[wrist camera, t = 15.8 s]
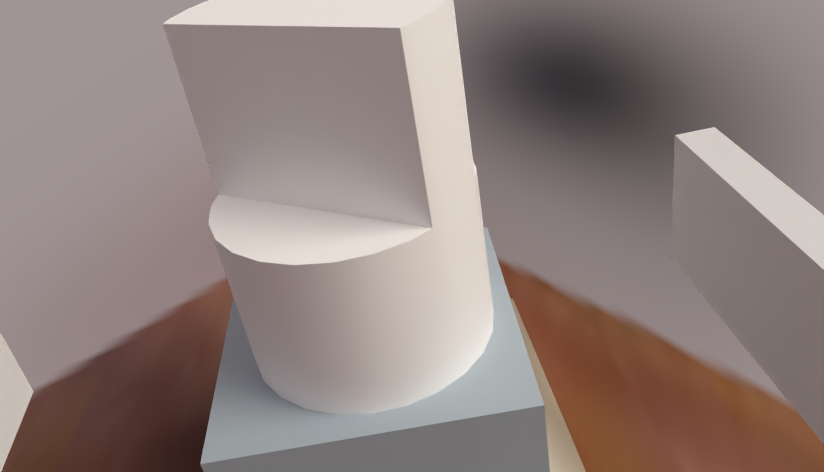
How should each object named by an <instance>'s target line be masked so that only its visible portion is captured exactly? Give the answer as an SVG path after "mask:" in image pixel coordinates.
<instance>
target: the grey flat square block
mask: <svg viewBox="0 0 824 472" xmlns="http://www.w3.org/2000/svg"><path fill="white" fill-rule="evenodd" d="M484 236H485V245H486V253H487V261H488V269H489V278H490V286H491V294H492V302H493V332H492V334H491V336H490V339H489V341H488V343H487V346H486V348H485V350H484V352H483V354H482V355H481V356H480V357H479V358H478V359H477V361H476V362H475V363H474V364H473V365H472V366H471V367H470V369H469V370H468V371H467V372H466V373H465V374H464V375H462V376H461V377H459V378H458V379H457V380H455V381H454V382H452V383H451V384H449V385H448V386H447V387H445V388H444V389H442V390H441V391H439V392H437V393H435V394H433V395H430V396H428V397H426V398H424V399H421V400H419V401H417V402H414V403H412V404H410V405H407V406H403V407H399V408H395V409H390V410H386V411H381V412H377V413H372V414H346V415H335V414H329V413H324V412H318V411H313V410H307V409H304V408H302V407H300V406H298V405H295V404H293V403H291V402H289V401H287V400H285V399H283V398H281V397H280V396H278V395H277V394H276V393H275V392H274V391H273V390H272V389H271V388H270V387H269V386H268V385H267V384H266V383H265V382H264V380H263V378H262V375H261V373H260V371H259V368H258V366H257V363H256V361H255V358H254V355H253V352H252V349H251V346H250V343H249V340H248V337H247V334H246V331H245V329H244V326H243V323H242V320H241V317H240V314H239V311H238V308H237V305H236V302H235V300H234V298H233V303H232V308H231V313H230V318H229V323H228V328H227V333H226V338H225V343H224V348H223V353H222V358H221V363H220V368H219V372H218V377H217V382H216V387H215V392H214V397H213V402H212V407H211V412H210V417H209V422H208V427H207V432H206V437H205V442H204V447H203V452H202V457H201V462H200V465H201V467H202V470H203V472H550V466H549V455H548V443H547V431H546V419H545V407H544V403H543V400H542V396H541V393H540V390H539V387H538V384H537V381H536V378H535V375H534V372H533V369H532V365H531V362H530V359H529V356H528V353H527V350H526V347H525V344H524V341H523V338H522V334H521V331H520V328H519V325H518V322H517V319H516V316H515V313H514V310H513V307H512V303H511V300H510V297H509V294H508V291H507V288H506V285H505V282H504V279H503V276H502V273H501V269H500V266H499V263H498V260H497V257H496V254H495V251H494V248H493V245H492V242H491V238H490V235H489V232H488V229H487V227H485V228H484Z"/></svg>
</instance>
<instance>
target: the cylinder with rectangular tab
mask: <svg viewBox="0 0 824 472" xmlns="http://www.w3.org/2000/svg"><path fill="white" fill-rule="evenodd" d="M163 26H164V29H165V32H166V35H167V39H168V42H169V45H170V48H171V51H172V54H173V56H174V60H175V63H176V66H177V69H178V72H179V75H180V78H181V81H182V84H183V87H184V90H185V94H186V97H187V100H188V103H189V106H190V108H191V112H192V115H193V118H194V121H195V124H196V127H197V130H198V133H199V136H200V139H201V142H202V145H203V148H204V151H205V154H206V158H207V161H208V164H209V167H210V170H211V173H212V176H213V179H214V182H215V185H216V188H217V191H218V194H219V195H218V196H217V198H216V200H215V201H214V202H213V204H212V206H211V209H210V216H209V227H210V230H211V233H212V235H213V238H214V241H215V244H216V247H217V250H218V253H219V256H220V259H221V262H222V264H223V268H224V270H225V273H226V276H227V279H228V282H229V285H230V288H231V291H232V294H233V297H234V300H235V302H236V305H237V308H238V311H239V314H240V317H241V320H242V323H243V326H244V329H245V331H246V334H247V337H248V340H249V343H250V346H251V349H252V352H253V355H254V358H255V361H256V363H257V366H258V368H259V371H260V373H261V375H262V378H263V380H264V382H265V383H266V384H267V385H268V386H269V387H270V388H271V389H272V390H273V391H274V392H275V393H276V394H277V395H278V396H280V397H281V398H283V399H285V400H287V401H289V402H291V403H293V404H295V405H298V406H300V407H302V408H304V409H307V410H313V411H318V412H324V413H329V414H335V415H346V414H372V413H377V412H381V411H386V410H390V409H395V408H399V407H403V406H407V405H410V404H412V403H414V402H417V401H419V400H421V399H424V398H426V397H428V396H430V395H433V394H435V393H437V392H439V391H441V390H442V389H444V388H445V387H447V386H448V385H449V384H451V383H452V382H454V381H455V380H457V379H458V378H459V377H461V376H462V375H464V374H465V373H466V372H467V371H468V370H469V369H470V367H471V366H472V365H473V364H474V363H475V362H476V361H477V359H478V358H479V357H480V356H481V355H482V354H483V352H484V350H485V348H486V346H487V343H488V341H489V339H490V336H491V334H492V332H493V302H492V294H491V286H490V278H489V269H488V261H487V253H486V245H485V236H484V228H483V221H482V212H481V203H480V196H479V187H478V179H477V171H476V166H475V164H474V162H473V157H472V149H471V141H470V133H469V125H468V117H467V109H466V101H465V92H464V84H463V76H462V68H461V60H460V52H459V44H458V35H457V27H456V19H455V11H454V3H453V0H208V1H206V2H203V3H201V4H198V5H196V6H194V7H191V8H189V9H187V10H185V11H183V12H182V13H180V14H178V15H176V16H174V17H172V18H171V19H169V20H167V21H166V22H165V23H163Z"/></svg>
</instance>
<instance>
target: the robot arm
mask: <svg viewBox="0 0 824 472" xmlns="http://www.w3.org/2000/svg"><path fill="white" fill-rule="evenodd" d="M674 153H675V154H674V180H673V208H672V209H673V210H672V237H671V257H672V259H673V260H674V261H675V262H676V263H677V265H678V266H679V267H680V268H681V269H682V271H683V272H684V273H685V275H686V276H687V277H688V278H689V279H690V280H691V282H692V283H693V284H694V286H695V287H696V288H697V289H698V290H699V292H700V293H701V294H702V295H703V296H704V298H705V299H706V300H707V301H708V303H709V304H710V305H711V306H712V308H713V309H714V310H715V311H716V313H717V314H718V315H719V316H720V317H721V319H722V320H723V321H724V322H725V324H726V325H727V326H728V327H729V328H730V330H731V331H732V332H733V333H734V335H735V336H736V337H737V338H738V340H739V341H740V342H741V343H742V344H743V346H744V347H745V348H746V349H747V351H748V352H749V353H750V354H751V355H752V357H753V358H754V359H755V360H756V362H757V363H758V364H759V365H760V367H761V368H762V369H763V370H764V371H765V373H766V374H767V375H768V376H769V378H770V379H771V380H772V381H773V382H774V384H775V385H776V386H777V387H778V389H779V390H780V391H781V392H782V393H783V395H784V396H785V397H786V398H787V400H788V401H789V402H790V403H791V405H792V406H793V407H794V408H795V409H796V411H797V412H798V413H799V414H800V416H801V417H802V418H803V419H804V420H805V422H806V423H807V424H808V425H809V427H810V428H811V429H812V430H813V432H814V433H815V434H816V435H817V436H818V438H819V439H820V440H821V441H822V443H823V444H824V215H823V214H821V213H820V212H819V211H818V210H816V209H815V208H814V207H813V206H812V205H810V204H809V203H808V202H807V201H805V200H804V199H803V198H801V197H800V196H799V195H798V194H797V193H795V192H794V191H793V190H792V189H790V188H789V187H788V186H787V185H785V184H784V183H783V182H782V181H781V180H779V179H778V178H777V177H776V176H774V175H773V174H772V173H771V172H769V171H768V170H767V169H765V168H764V167H763V166H762V165H761V164H759V163H758V162H757V161H756V160H754V159H753V158H752V157H751V156H750V155H748V154H747V153H746V152H745V151H743V150H742V149H741V148H739V147H738V146H737V145H736V144H734V143H733V142H732V141H731V140H730V139H728V138H727V137H726V136H725V135H723V134H722V133H721V132H720V131H718V130H717V129H716V128H715V127H713V128H708V129H703V130H699V131H693V132H689V133H684V134H679V135H675V152H674ZM32 394H33V390H32V388H31V386H30V385H29V383H28V381H27V379H26V378H25V376H24V374H23V372H22V370H21V369H20V367H19V365H18V363H17V362H16V360H15V358H14V356H13V354H12V352H11V351H10V349H9V347H8V345H7V344H6V342H5V340H4V338H3V337H2V335H1V333H0V472H1V471H2V468H3V466H4V463H5V461H6V458H7V456H8V453H9V451H10V448H11V446H12V444H13V441H14V439H15V436H16V434H17V431H18V429H19V426H20V424H21V421H22V419H23V416H24V414H25V411H26V409H27V406H28V404H29V401H30V399H31V396H32Z"/></svg>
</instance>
